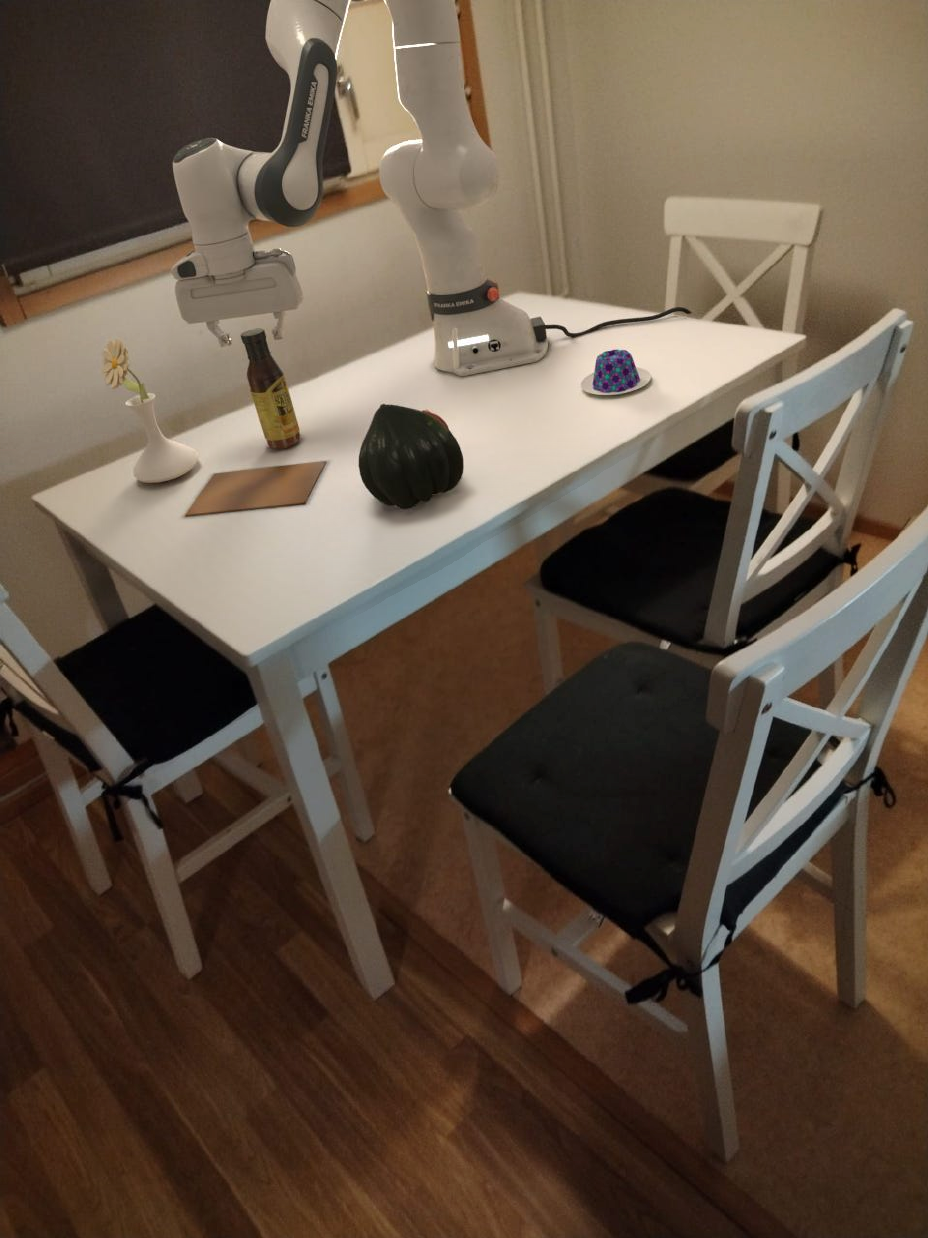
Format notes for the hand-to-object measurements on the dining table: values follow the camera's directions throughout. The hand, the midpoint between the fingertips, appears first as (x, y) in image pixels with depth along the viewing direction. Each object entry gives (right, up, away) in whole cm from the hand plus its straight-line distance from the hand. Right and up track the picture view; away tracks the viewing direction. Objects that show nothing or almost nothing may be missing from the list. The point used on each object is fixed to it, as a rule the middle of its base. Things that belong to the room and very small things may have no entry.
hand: (253, 341), depth 154 cm
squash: (+28, -27, -15) cm, 42 cm away
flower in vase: (-16, -21, +8) cm, 28 cm away
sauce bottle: (+3, -15, +11) cm, 19 cm away
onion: (+30, -20, -5) cm, 36 cm away
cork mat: (+1, -25, -3) cm, 25 cm away
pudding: (+61, -6, +6) cm, 61 cm away
